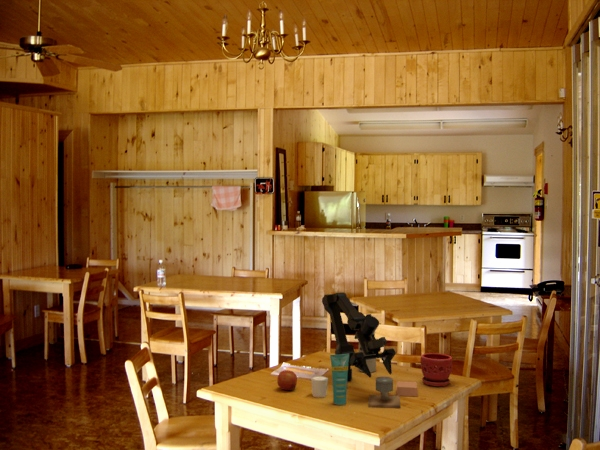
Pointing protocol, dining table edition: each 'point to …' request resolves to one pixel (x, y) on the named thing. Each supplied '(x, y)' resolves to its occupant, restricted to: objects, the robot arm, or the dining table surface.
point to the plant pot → (436, 369)
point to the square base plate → (384, 400)
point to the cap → (384, 384)
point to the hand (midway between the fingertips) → (380, 375)
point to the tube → (339, 377)
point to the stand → (406, 388)
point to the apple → (287, 380)
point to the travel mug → (371, 362)
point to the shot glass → (319, 386)
